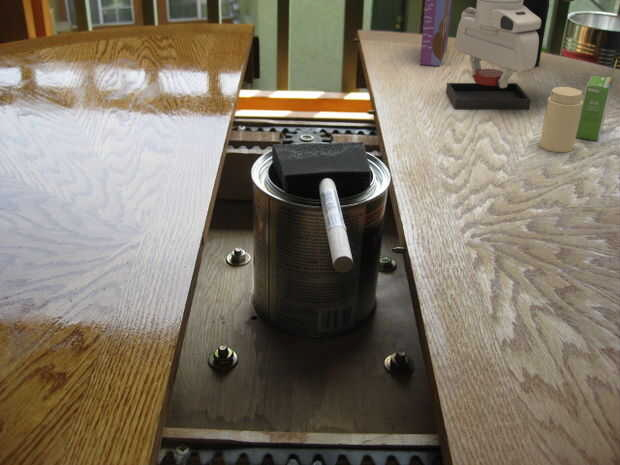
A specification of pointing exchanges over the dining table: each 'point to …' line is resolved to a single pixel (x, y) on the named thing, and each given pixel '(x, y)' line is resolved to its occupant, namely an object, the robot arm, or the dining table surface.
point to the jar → (561, 119)
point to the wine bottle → (539, 6)
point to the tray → (487, 96)
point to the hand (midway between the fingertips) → (489, 82)
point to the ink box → (594, 107)
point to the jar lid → (487, 76)
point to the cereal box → (435, 31)
